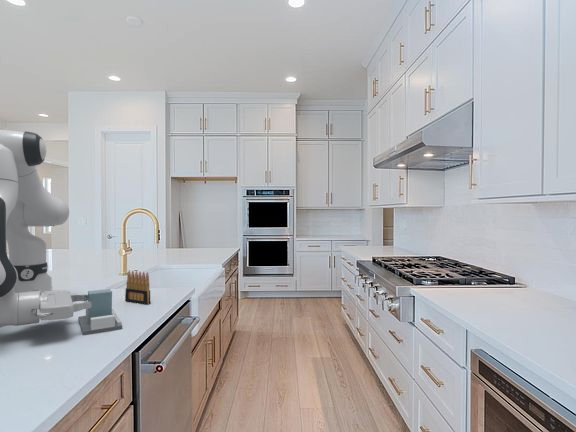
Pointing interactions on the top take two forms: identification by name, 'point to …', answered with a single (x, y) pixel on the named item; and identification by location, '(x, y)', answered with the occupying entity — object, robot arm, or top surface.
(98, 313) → the block
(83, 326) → the mounting board
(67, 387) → the top surface
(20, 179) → the robot arm
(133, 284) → the ammunition clip
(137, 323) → the top surface
